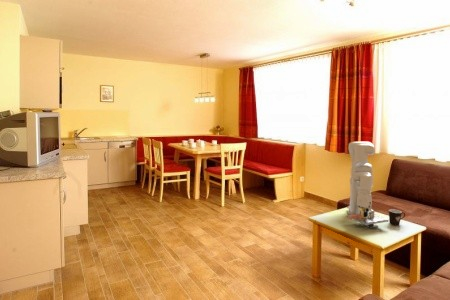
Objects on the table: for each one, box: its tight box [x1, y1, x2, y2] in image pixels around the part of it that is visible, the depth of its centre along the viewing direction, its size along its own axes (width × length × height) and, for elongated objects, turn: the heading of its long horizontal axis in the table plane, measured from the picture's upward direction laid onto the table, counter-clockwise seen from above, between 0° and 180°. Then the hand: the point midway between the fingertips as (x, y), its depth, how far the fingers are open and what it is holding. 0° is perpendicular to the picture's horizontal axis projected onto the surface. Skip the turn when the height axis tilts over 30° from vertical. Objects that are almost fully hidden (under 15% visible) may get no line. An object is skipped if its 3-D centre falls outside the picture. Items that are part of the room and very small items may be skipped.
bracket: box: [348, 213, 361, 221], centre depth 216 cm, size 6×8×3 cm
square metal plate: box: [346, 209, 389, 229], centre depth 220 cm, size 18×21×12 cm
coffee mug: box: [388, 208, 406, 227], centre depth 224 cm, size 12×9×10 cm
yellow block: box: [359, 207, 367, 219], centre depth 218 cm, size 3×7×8 cm, turn 109°
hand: (363, 215), depth 218 cm, fingers closed on yellow block, 2 cm apart
